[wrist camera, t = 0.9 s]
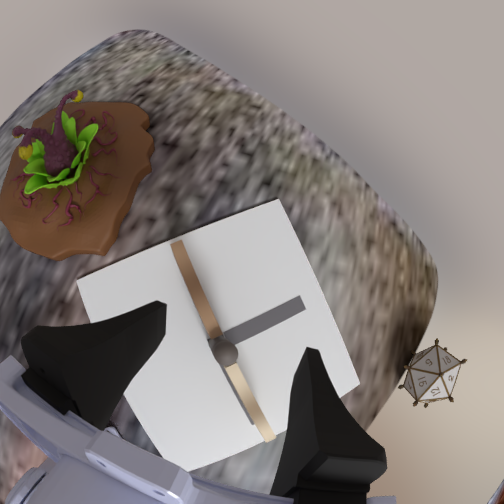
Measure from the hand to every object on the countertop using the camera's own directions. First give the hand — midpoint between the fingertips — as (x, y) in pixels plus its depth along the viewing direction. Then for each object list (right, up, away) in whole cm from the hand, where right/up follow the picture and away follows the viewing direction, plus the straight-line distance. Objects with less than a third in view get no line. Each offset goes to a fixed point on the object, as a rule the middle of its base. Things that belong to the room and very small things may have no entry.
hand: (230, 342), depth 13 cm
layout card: (-2, -5, +13) cm, 14 cm away
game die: (+22, -11, +17) cm, 30 cm away
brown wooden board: (-4, +1, +13) cm, 13 cm away
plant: (-20, +13, +13) cm, 27 cm away
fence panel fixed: (-1, -8, +12) cm, 14 cm away
